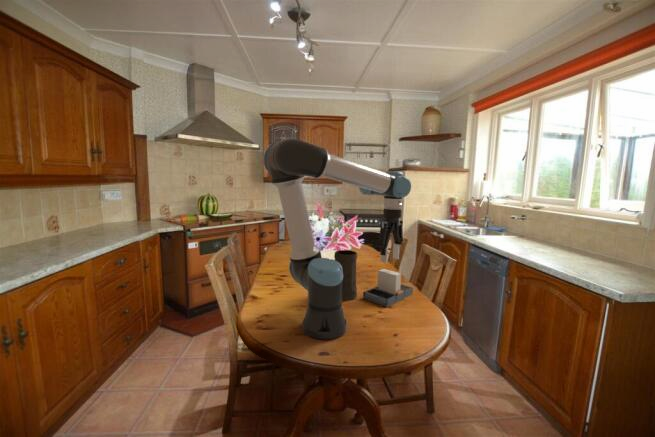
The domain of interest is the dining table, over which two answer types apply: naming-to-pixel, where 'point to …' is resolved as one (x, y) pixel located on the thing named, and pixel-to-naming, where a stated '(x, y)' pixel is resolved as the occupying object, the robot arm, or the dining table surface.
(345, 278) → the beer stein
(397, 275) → the white rectangular block
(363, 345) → the dining table surface
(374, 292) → the dark grey compartment tray
